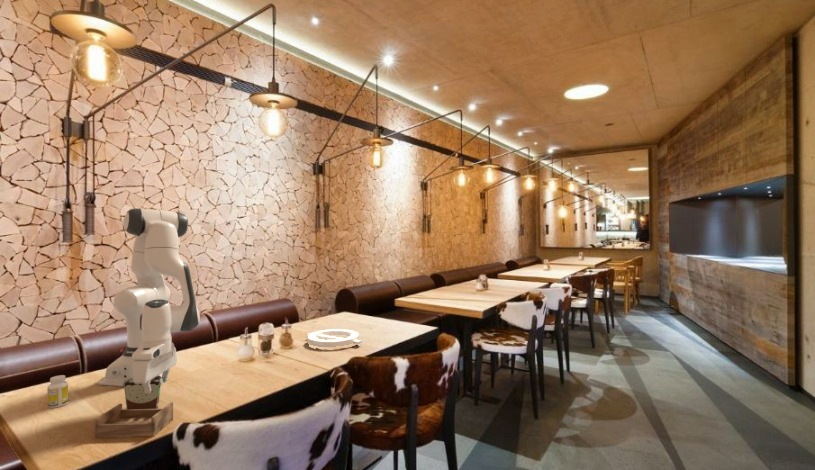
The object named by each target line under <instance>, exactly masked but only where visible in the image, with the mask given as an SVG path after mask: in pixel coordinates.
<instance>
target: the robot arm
mask: <svg viewBox="0 0 815 470" xmlns="http://www.w3.org/2000/svg"><path fill="white" fill-rule="evenodd" d="M123 226H124V230H125V232H127V234H130V235H133V236H135V238H134V243H133V246H132V257H131V263H130V264H131V265H130V266H131V267H130V269H131V272H132V273H133V274H134V276H135V277H136V282H137V285H134V286H129V287H126V288H125V289H122V290H120V291H119V292H117V293H116V294H115V296H114V298H113V307H114V308H115V310H116V311H117V312H118V313H120V314H121V316H122V317H123V319H124V322H125V325H126V333H127V335H126V336H127V343H126V344H127V345H126V346H124V347H122V348H120V349H119V350H120V351H119V352H120V353H122V352H123V353H122V355H121V356H120V357H118V358H116V359H115V360H114V361H113V362H111V364H109V365H108V366H107V368H106V370H105V372H104V373H105V374H104V376H103V377H101V378H100V379H99V380H98V381H97V385H98V386H115V387H122V386H123V383H124V381H126V380H128V379H131V378H133V382H134V383H135V384H142V385H143V387H144V393H150V392H152V386H150V383H151V379H153V378H155V377H156V376H158V375H159V376H161V378H162V380H163V384H165V383H166V382H168V381H169V374H170V372H171V368H173V367H174V366H176V365H177V361H178V359H177V348H176V347H175V344H174V343H173V341H172V340H173V339H172V334H171V333H173V332H192V331H194V329H196V328H197V327H198V326H199V324H200V320H201V315H200V310H199V308H198V306H197V302H196V296H195V289H194V285H193V280H192V277H191V276H192V275H191V271H190V268H189V265H188V263H186V262H184V261H183V260H182V258H181V255H180V241H179V238H181V237H183V236H185V235H186V233H187V232H188V228H189V220H188V217H187V216H186V214H185V213H182V212H178V211H176V212H175V211H170V210H166V209H165V210H164V209H147V208H145V209H144V208H143V209H141V208H139V207H138V208H130V209H128V210H127V211H126V214H125V215H124V217H123ZM164 276H165V277H166V276H167V277H171V278H173V279H175V280H177V281H178V282H179V283H180V288H181V294H182V298H183V303H182V304H177V305H176V304H175V305H170V304H171V303H170V301H169V300H170V298H171V290H170V288H169V287H168V286H167V284H166V281H165V277H164Z"/></svg>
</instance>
